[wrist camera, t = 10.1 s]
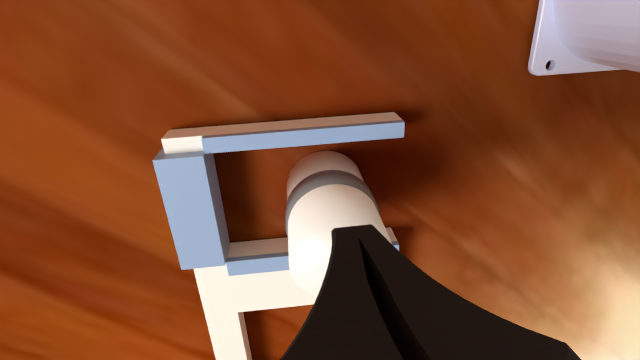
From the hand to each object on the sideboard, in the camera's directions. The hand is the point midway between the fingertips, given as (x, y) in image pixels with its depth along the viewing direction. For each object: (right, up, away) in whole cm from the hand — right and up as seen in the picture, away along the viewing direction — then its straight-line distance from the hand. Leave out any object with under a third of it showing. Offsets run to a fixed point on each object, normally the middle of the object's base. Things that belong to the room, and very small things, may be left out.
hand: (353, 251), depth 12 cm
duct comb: (-3, -3, +12) cm, 13 cm away
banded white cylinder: (-1, +2, +10) cm, 10 cm away
